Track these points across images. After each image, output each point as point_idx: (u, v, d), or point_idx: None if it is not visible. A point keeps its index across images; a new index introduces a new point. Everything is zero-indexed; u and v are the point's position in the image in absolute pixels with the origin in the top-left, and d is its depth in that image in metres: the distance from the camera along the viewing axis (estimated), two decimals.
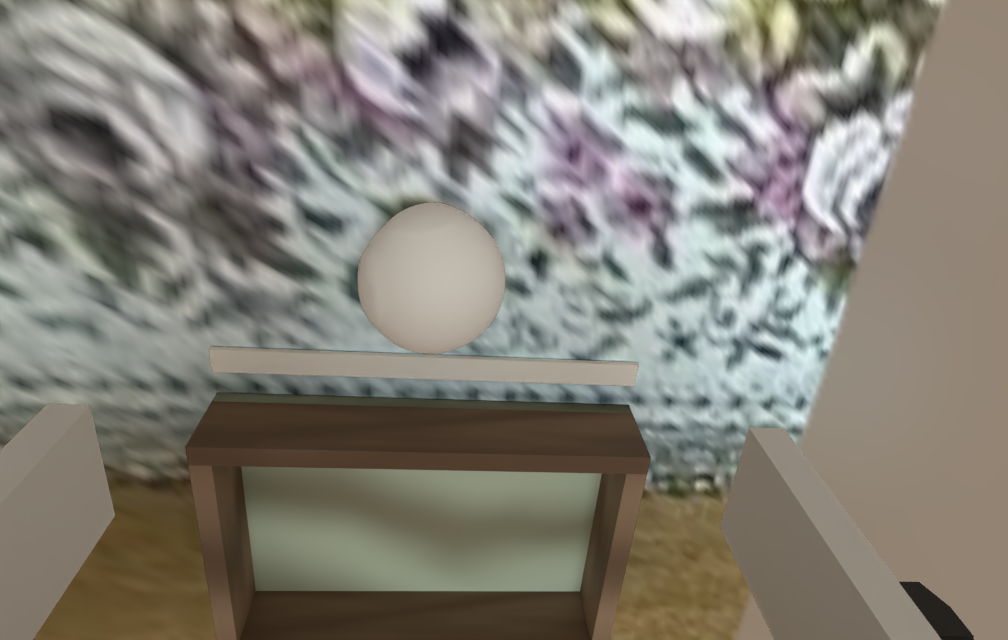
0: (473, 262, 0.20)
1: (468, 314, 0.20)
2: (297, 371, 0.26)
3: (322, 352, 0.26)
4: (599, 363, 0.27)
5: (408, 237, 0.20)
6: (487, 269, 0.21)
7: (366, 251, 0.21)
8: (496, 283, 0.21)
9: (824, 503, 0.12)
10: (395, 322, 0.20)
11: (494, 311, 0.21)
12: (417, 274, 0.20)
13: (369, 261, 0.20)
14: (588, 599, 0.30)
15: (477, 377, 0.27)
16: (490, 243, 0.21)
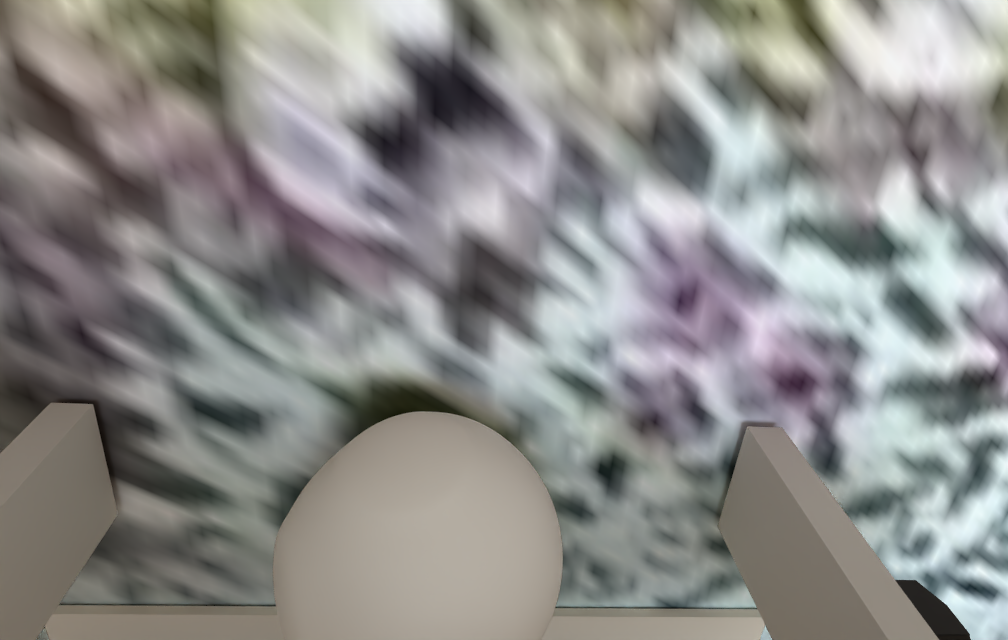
0: (504, 573, 0.10)
1: None
2: None
3: (239, 611, 0.15)
4: (703, 615, 0.16)
5: (368, 525, 0.09)
6: (533, 575, 0.10)
7: (286, 530, 0.10)
8: (548, 591, 0.10)
9: (821, 502, 0.12)
10: None
11: (543, 634, 0.11)
12: (385, 615, 0.09)
13: (289, 561, 0.10)
14: None
15: None
16: (537, 506, 0.11)
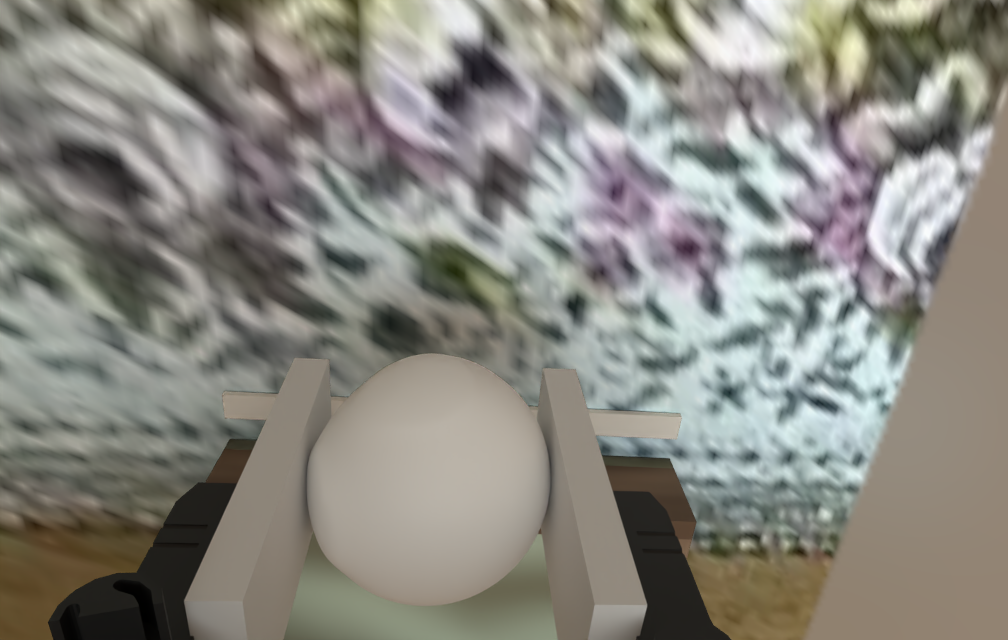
0: (501, 476, 0.12)
1: (493, 563, 0.12)
2: None
3: (342, 399, 0.24)
4: (639, 414, 0.25)
5: (389, 436, 0.11)
6: (525, 481, 0.12)
7: (318, 447, 0.12)
8: (538, 499, 0.12)
9: (578, 426, 0.13)
10: (366, 577, 0.12)
11: (534, 538, 0.13)
12: (404, 508, 0.11)
13: (322, 470, 0.12)
14: None
15: None
16: (528, 428, 0.13)
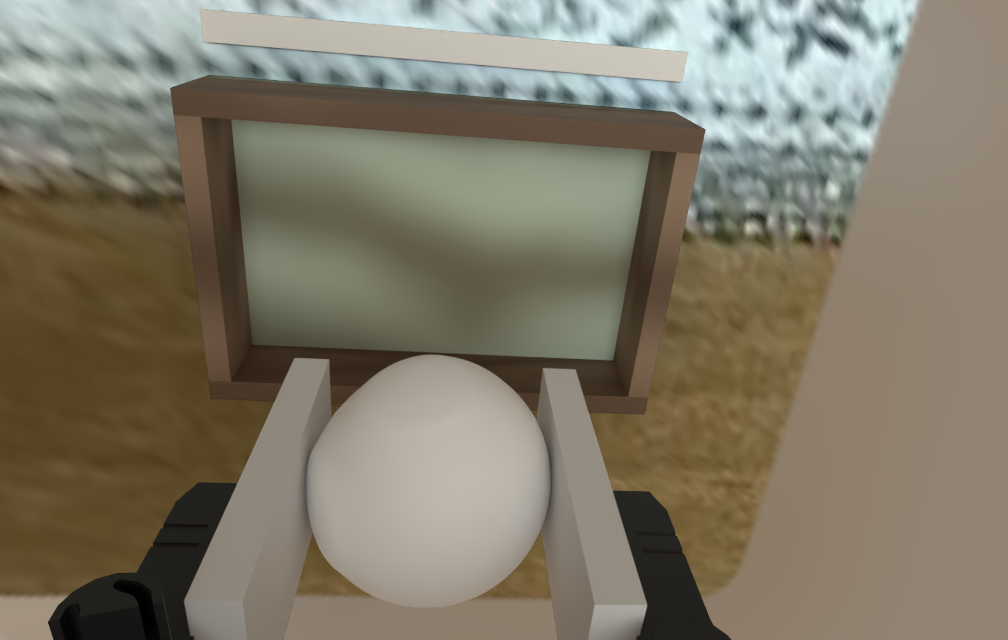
0: (501, 479, 0.12)
1: (493, 565, 0.12)
2: (300, 45, 0.23)
3: (329, 20, 0.22)
4: (643, 48, 0.23)
5: (388, 438, 0.11)
6: (526, 483, 0.12)
7: (318, 449, 0.12)
8: (538, 500, 0.12)
9: (578, 426, 0.13)
10: (366, 580, 0.12)
11: (534, 540, 0.13)
12: (403, 510, 0.11)
13: (321, 472, 0.12)
14: (625, 352, 0.27)
15: (505, 62, 0.23)
16: (528, 430, 0.12)
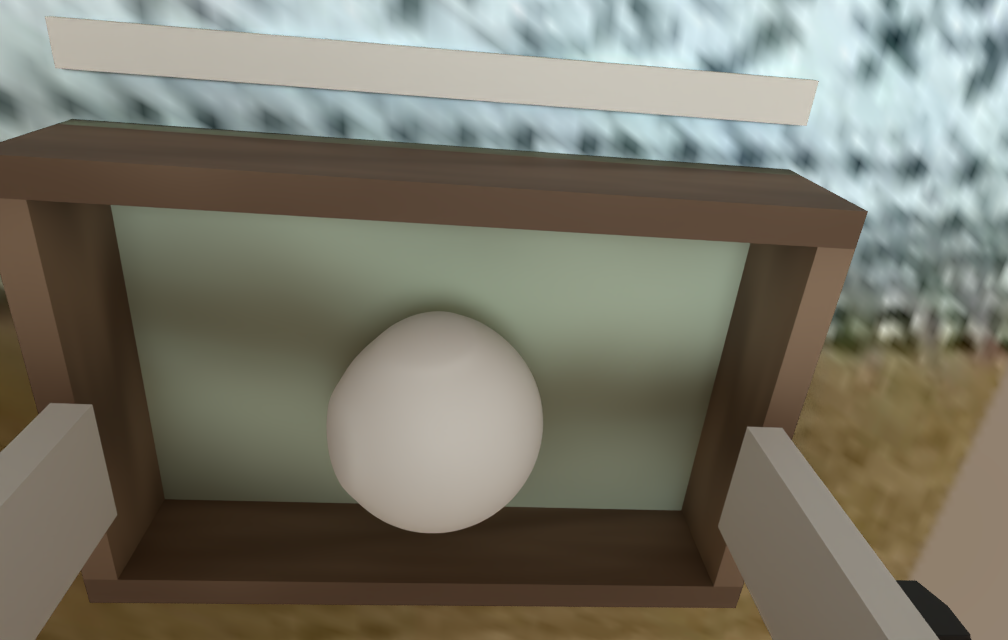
0: (500, 414, 0.13)
1: (492, 490, 0.13)
2: (212, 72, 0.14)
3: (256, 34, 0.14)
4: (750, 75, 0.15)
5: (403, 376, 0.13)
6: (521, 420, 0.14)
7: (339, 389, 0.14)
8: (532, 437, 0.14)
9: (821, 502, 0.12)
10: (381, 502, 0.13)
11: (528, 475, 0.14)
12: (415, 437, 0.13)
13: (342, 408, 0.13)
14: (705, 514, 0.18)
15: (534, 97, 0.15)
16: (524, 376, 0.14)
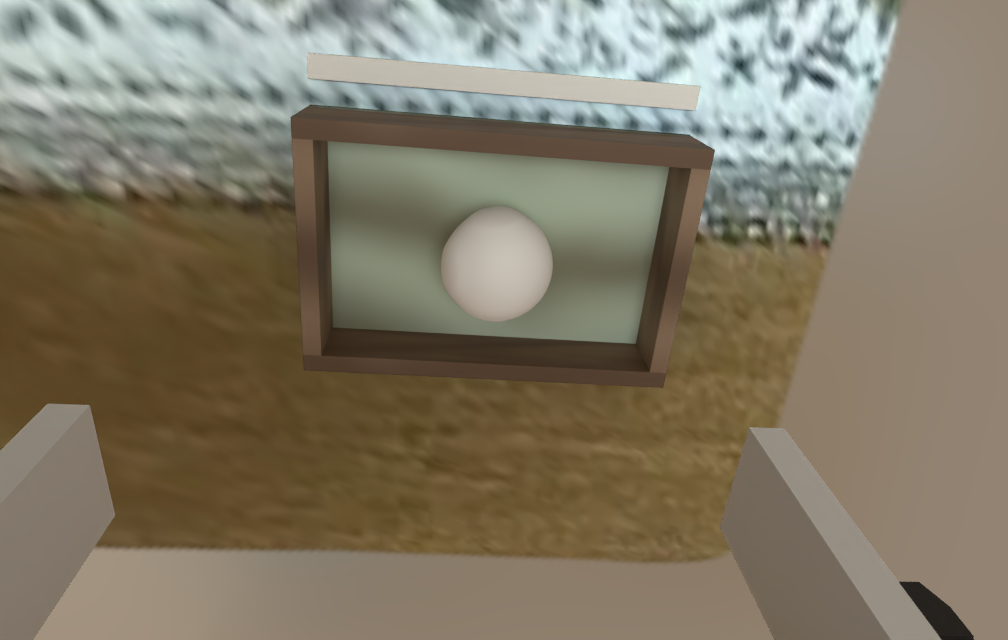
0: (531, 251, 0.27)
1: (526, 290, 0.27)
2: (386, 80, 0.28)
3: (410, 61, 0.28)
4: (663, 83, 0.29)
5: (484, 230, 0.27)
6: (542, 256, 0.27)
7: (450, 240, 0.27)
8: (547, 267, 0.28)
9: (824, 503, 0.12)
10: (471, 294, 0.27)
11: (544, 289, 0.28)
12: (491, 258, 0.26)
13: (453, 248, 0.27)
14: (646, 335, 0.32)
15: (550, 94, 0.29)
16: (543, 237, 0.28)
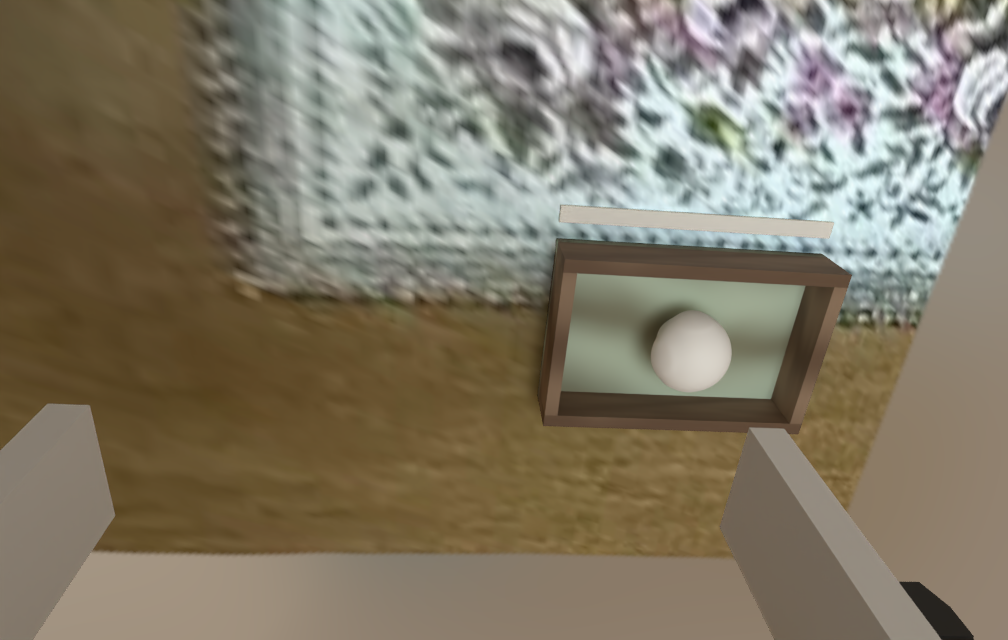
0: (723, 346, 0.38)
1: (719, 373, 0.38)
2: (613, 222, 0.39)
3: (631, 209, 0.39)
4: (808, 221, 0.40)
5: (691, 333, 0.38)
6: (728, 349, 0.39)
7: (663, 337, 0.39)
8: (730, 356, 0.39)
9: (824, 503, 0.12)
10: (681, 376, 0.38)
11: (726, 370, 0.39)
12: (698, 353, 0.38)
13: (667, 344, 0.38)
14: (785, 395, 0.43)
15: (728, 229, 0.40)
16: None
